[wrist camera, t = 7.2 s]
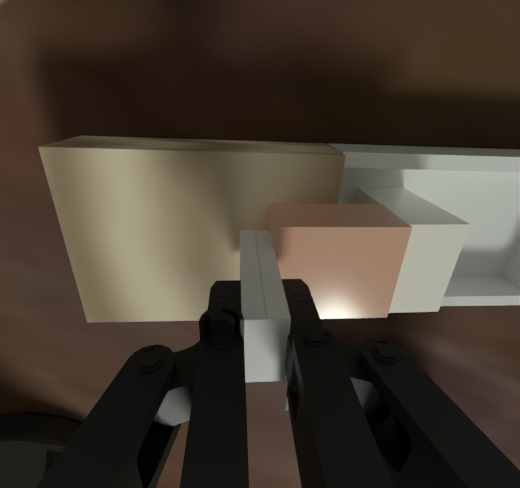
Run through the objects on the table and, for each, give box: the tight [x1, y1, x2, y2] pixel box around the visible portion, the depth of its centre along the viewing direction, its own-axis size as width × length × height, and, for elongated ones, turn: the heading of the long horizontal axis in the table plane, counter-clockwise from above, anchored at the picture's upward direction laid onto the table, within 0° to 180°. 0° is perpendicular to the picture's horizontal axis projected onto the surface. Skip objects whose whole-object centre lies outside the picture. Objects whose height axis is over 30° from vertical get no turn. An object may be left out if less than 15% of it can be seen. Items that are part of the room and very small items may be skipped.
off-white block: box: [355, 187, 471, 313], centre depth 17 cm, size 6×5×3 cm
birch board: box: [38, 136, 346, 322], centre depth 18 cm, size 14×10×4 cm
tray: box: [327, 143, 520, 306], centre depth 20 cm, size 16×10×3 cm, turn 88°
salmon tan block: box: [267, 204, 412, 319], centre depth 15 cm, size 6×5×3 cm
